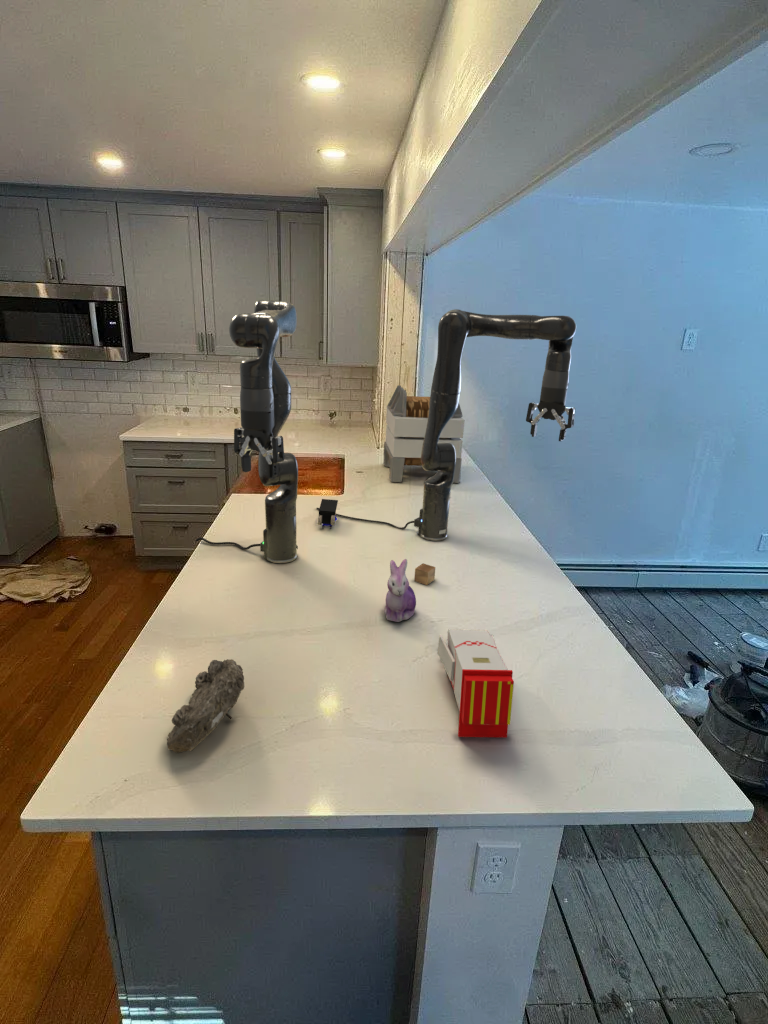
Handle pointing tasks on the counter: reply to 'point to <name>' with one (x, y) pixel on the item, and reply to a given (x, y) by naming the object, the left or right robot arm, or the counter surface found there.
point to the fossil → (206, 705)
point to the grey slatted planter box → (415, 433)
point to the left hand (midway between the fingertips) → (259, 475)
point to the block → (424, 574)
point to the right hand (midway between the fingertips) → (547, 438)
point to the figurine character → (327, 513)
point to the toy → (478, 682)
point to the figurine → (399, 594)
